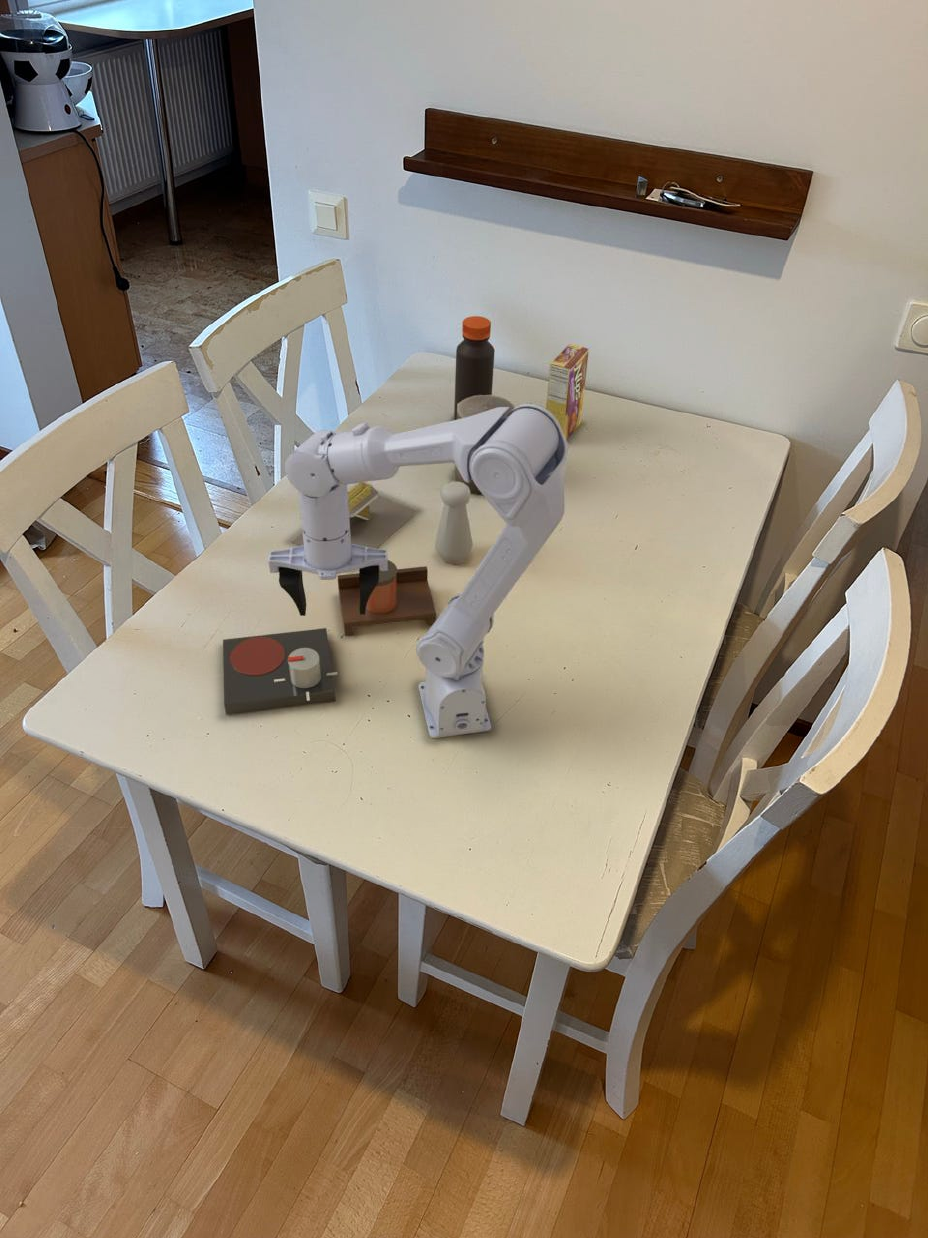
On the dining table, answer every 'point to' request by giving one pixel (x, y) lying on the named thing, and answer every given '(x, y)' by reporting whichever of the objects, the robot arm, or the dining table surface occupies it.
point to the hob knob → (304, 668)
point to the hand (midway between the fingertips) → (333, 610)
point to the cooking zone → (257, 656)
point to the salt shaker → (454, 524)
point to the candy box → (567, 387)
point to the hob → (277, 676)
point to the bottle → (474, 360)
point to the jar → (384, 591)
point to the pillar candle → (472, 408)
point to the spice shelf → (410, 600)
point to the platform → (371, 517)
